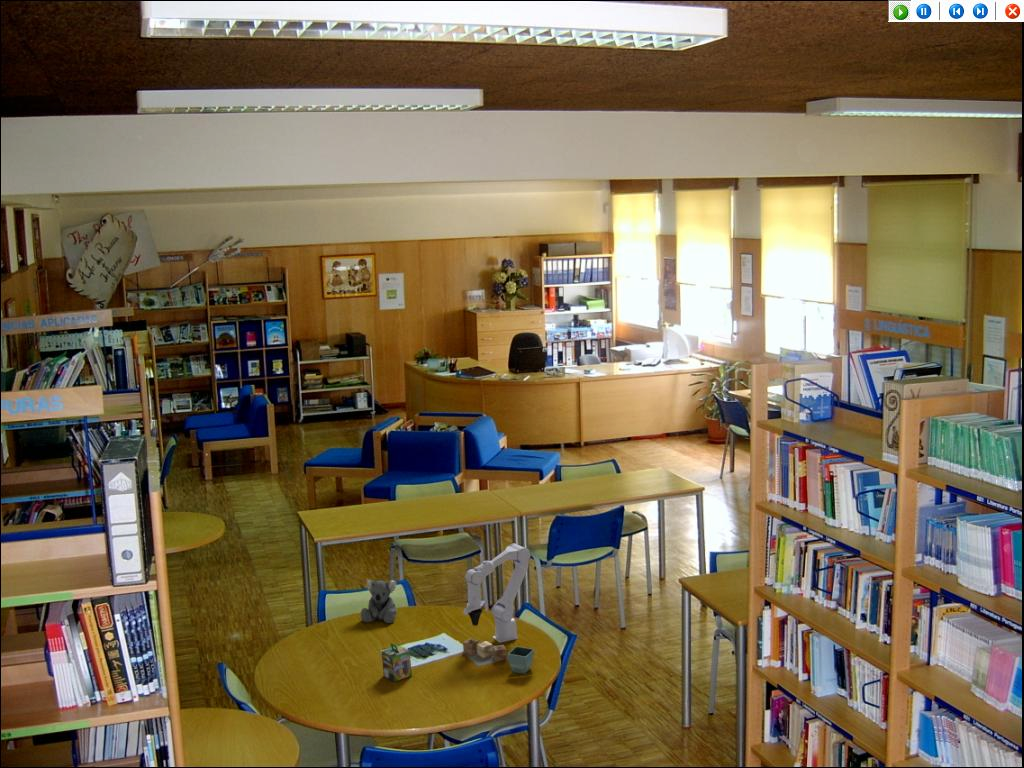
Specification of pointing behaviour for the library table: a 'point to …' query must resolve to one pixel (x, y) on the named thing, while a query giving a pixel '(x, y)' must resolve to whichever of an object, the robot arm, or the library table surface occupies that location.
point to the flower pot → (521, 659)
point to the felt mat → (481, 659)
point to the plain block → (484, 649)
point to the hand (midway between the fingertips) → (475, 625)
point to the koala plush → (380, 602)
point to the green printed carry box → (396, 663)
